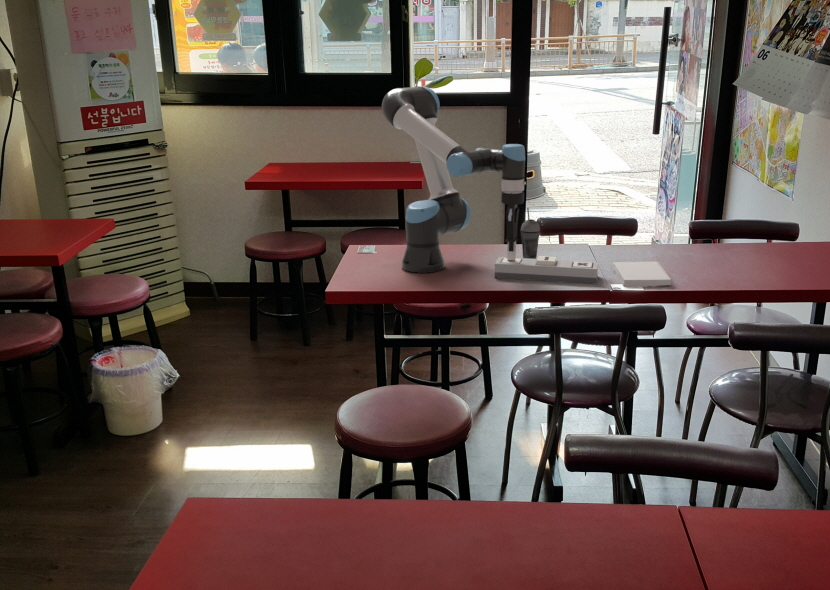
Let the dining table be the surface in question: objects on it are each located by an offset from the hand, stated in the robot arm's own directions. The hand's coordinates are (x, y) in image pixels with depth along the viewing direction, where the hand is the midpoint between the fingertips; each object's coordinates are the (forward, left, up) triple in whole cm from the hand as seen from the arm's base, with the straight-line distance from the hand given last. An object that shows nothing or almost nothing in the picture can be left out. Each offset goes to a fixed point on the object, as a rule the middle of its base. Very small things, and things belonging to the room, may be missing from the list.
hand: (511, 259), depth 277 cm
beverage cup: (+4, +19, -6) cm, 20 cm away
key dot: (0, 0, -3) cm, 3 cm away
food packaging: (+43, +5, -6) cm, 44 cm away
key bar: (+12, 0, -2) cm, 12 cm away
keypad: (+12, 0, -6) cm, 13 cm away
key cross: (+24, 0, -3) cm, 24 cm away
